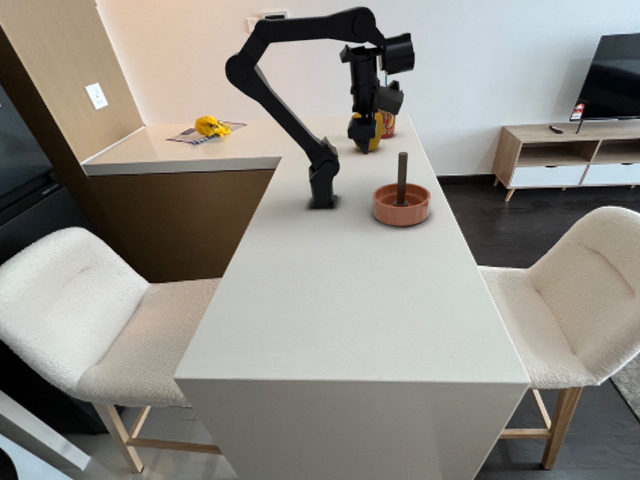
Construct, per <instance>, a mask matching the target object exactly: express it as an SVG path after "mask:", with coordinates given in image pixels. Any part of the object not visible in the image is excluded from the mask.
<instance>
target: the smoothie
mask: <svg viewBox="0 0 640 480" xmlns="http://www.w3.org/2000/svg"><path fill="white" fill-rule="evenodd" d="M386 85H388V76H386V75H384V84H383V85H382V86H384V87H385V86H386ZM387 87H388V86H387ZM379 113H380V114H382V117H383V130H382V136H381V139H388V138H392V137H393V135H394V133H395V128H396V116H397V115H392V114H391V113H389V112H385V111H382V110H380V109H379Z"/></svg>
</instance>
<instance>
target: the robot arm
mask: <svg viewBox="0 0 640 480" xmlns="http://www.w3.org/2000/svg"><path fill="white" fill-rule="evenodd" d="M317 40H333V41H341V42H344V43H345V42H346V44H345V45H344V47H343V49H342V50H341V51H340V52H339V53H338V54H339V55H338V56H339V59H340V62H341V64H347V63H349V72H350V83H351V86H350V90H349V94H350V96H352V105H351V106H352V107H351V113H353V114H355V113H358V114H361V117H360V118H352V119H351V118H350V120H349V122H348V126H347V129H346V133H347V139H349V140H352V141H353V142H355V143H356V144H357V145H358V147H359V148H360V150H359V151H361V153H362V154H363V155H364V156H365V155H366V156H367V155H369V145H370V139H373V138H375V137H376V132H377V121H376V120H375V119H374V118H375V113H378V112H379V109H380V110H382V111H385V112H389V113H391V114H392V115H396V116H398V115H399V113H400V111H401V108H402V106H403V103H404V97H405V93H404V91H403V89H401V85H400V81H399V80H395V79H392V81H390V83H389V84H387V85H386V86H385V87H384V86H383V85H381V79H380V78H379V77H378V69H379V71H380V72H384V74H385V75H384V76H387V77H388V76H393V75H397V74H402V73H407V72H412V71H413V70H414V68H415V63H416V52H415V51H414V43H413V42H412V33H411V32H402V33H401V34H398V35H393V36H388V37H385V35H384V34H383V33H382V32H381V31H380V29H379V28H378V26H377V20H376V16H375V13H374V12H373V11H372V9H371V8H369V7H368V6H361V5H359V6H354V7H350V8H346V9H343V10H340V11H337V12H334V13H329V14H327V15H320V16H319V15H318V16H307V17H306V16H305V17H304V16H303V17H291V18H290V17H289V18H275V19H269V18H262V19H259V20H257V21H256V23H255V25H254V28H253V30H252V32H251V33H250V35H248V38H247V39H246V40H245V42H244V44H243V46H242V47H241V49H240V50H239V51H238V52H235V53H234V54H232V55H231V56H230V57H228V59H227V60H226V61H225V64H224V65H225V66H224V73H225V77H226V80H227V81H228V82H229V84H231V85H232V86H233V87H234V88H236V89H237V90H238V91H240V92H241V93H242V94H244V95H245V96H247V97H248V98H250V99H252V100H254V102H257V103H258V104H259V105H260V106H261V107H262V108H263V109H264V110H265V111H266V112H267V113H268V114H269V115H270V117H271V118H272V119H273V120H274V121H275V122H276V123H277V124H278V125H279V126H280V127H281V128H282V129H283V130H284V131H285V132H286V133H287V134H288V136H290V138H291V139H292V140H294V142H295V143H296V144H297V145H298V146H299V147H300V148H301V149H302V150H303V151H304V153H305V155H306V157H307V158H308V160H309V162H310V165H309V167H308V168H307V169H308V170H307V171H308V181H309V185H310V192H311V201H310V203H309V205H308V207H309V209H334V208H335V206H336V201H337V198H338V196H337V194H335V193H334V185H333V184H334V183H333V181H334V178H335V177H336V176H337V175H338V174H339V173H340V170H341V164H340V160H339V152H338V150H337V147H336V146H335V145H333V144H331V142H330V141H329V139H328V137H327V136H324V137H323V138H322V139H321V138H319V137H317V136H315V134H313V133H312V131H311V130H310V129H309V128H308V127H307V126H306V124H304V122H303V121H302V120H301V119H300V118H299V117H298V116H297V115H296V114H295V112H294V111H293V110H292V109H291V108H290V107H289V106H288V105H287V103H286V102H285V101H284V100H283V99H282V98H281V97H280V96H279V94H278V93H277V92H276V91H275V90H274V89H273V88H272V87H271V85H270V83H269V81H268V79H267V78H266V75H265V73H264V72H263V71H262V69H261V67H260V66H259V64H258V63H259V61H260V60H261V59H262V57H263V55H264V54H265V52H266V50H267V49H268V47H269V45H271V44H275V43H291V42H304V41H317ZM347 43H352V44H362V45H359V46H354V47H351V46H349V44H347ZM367 43H368V44H370V45H372V46H374V47H366V46H365V45H363V44H367ZM387 86H388V87H387ZM355 143H354V144H355Z"/></svg>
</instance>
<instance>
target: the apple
mask: <svg viewBox="0 0 640 480" xmlns="http://www.w3.org/2000/svg"><path fill="white" fill-rule="evenodd" d="M360 117H361V114H358V113H353V115H351V118H350V120H351V119H352V118H360ZM374 119H375V120H376V121H377V132H376V137H375V138H373V139H370V145H369V151H374V150H376V149H377V147H378V146H379V144H380V142H381V141H382V140H381V139H382V138H381V136H382V130H383V117H382V114H380V113H379V112H378V113H375V118H374ZM353 142H354V141H353ZM354 145H355V147H356V149H357V150H358V151H361V150H360V148H359V147H358V145H357V144H356V143H355V142H354ZM369 151H368V152H369Z"/></svg>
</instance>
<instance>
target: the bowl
mask: <svg viewBox="0 0 640 480" xmlns="http://www.w3.org/2000/svg"><path fill="white" fill-rule="evenodd" d="M431 198H432V196H431V192H430V191H429V190H428V189H427V188H426V187H424V186H422V185H420V184H417V183H416V184H415V183H410V182H406V196H405V200H407V201H408V202H409V204H408V207H394V206H393V202H394V201H395V200H397V182H394V183H387V184H384V185H382V186H380V187H377V188H376V189H375V190H374V191H373V193H372V214H373V217H374V218H376V220H377V221H379V222H381V223H383V224H387V225H390V226H391V225H392V226H399V227H400V226H401V227H403V226H404V227H405V226H411V225H415V224H418V223H421V222H423V221H424V220H426V219H427V218H428V216H429V215H430V207H431Z"/></svg>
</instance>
